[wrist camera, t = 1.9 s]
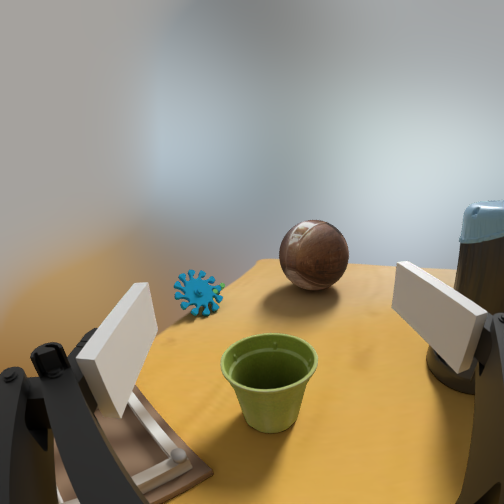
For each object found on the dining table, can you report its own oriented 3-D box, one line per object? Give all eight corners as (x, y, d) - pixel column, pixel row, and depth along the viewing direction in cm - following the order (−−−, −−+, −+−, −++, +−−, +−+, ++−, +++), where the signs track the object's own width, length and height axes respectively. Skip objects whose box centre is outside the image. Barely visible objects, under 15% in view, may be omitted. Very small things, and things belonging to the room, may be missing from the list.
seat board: (213, 474, 21) (207, 456, 20) (62, 540, 9) (40, 526, 8) (134, 386, 34) (127, 366, 33) (26, 427, 22) (13, 408, 21)
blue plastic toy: (184, 318, 50) (168, 270, 54) (176, 329, 54) (162, 285, 58) (235, 307, 56) (218, 264, 60) (224, 318, 60) (208, 278, 64)
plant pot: (321, 437, 25) (330, 381, 22) (231, 450, 24) (220, 395, 22) (302, 384, 34) (304, 328, 31) (229, 392, 33) (220, 337, 31)
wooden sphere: (267, 294, 62) (263, 224, 57) (299, 271, 73) (297, 213, 69) (333, 307, 53) (335, 230, 49) (355, 280, 65) (357, 217, 60)
